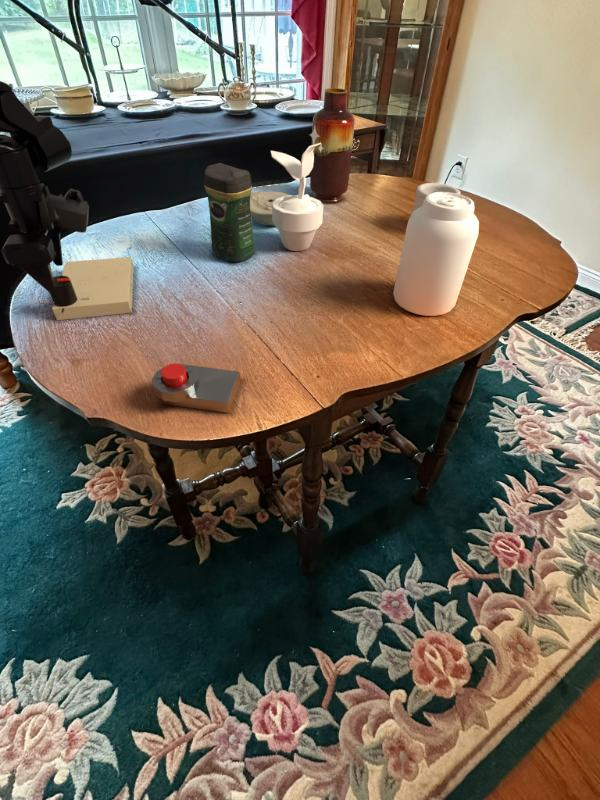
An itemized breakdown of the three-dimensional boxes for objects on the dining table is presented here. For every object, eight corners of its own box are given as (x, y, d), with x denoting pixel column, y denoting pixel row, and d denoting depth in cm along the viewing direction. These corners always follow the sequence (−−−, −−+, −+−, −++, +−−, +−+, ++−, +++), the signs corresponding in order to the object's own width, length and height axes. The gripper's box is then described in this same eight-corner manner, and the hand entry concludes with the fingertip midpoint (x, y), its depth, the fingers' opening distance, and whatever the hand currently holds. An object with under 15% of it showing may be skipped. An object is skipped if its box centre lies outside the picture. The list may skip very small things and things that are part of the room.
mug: (442, 242, 108) (453, 200, 101) (402, 231, 112) (410, 190, 105) (458, 224, 116) (470, 184, 109) (420, 214, 120) (429, 176, 113)
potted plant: (329, 244, 105) (339, 125, 87) (303, 262, 98) (308, 136, 80) (287, 230, 110) (288, 115, 92) (259, 246, 103) (254, 125, 85)
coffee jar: (260, 254, 100) (258, 167, 87) (236, 267, 95) (230, 176, 82) (230, 242, 104) (223, 157, 91) (206, 253, 99) (195, 165, 86)
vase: (305, 202, 124) (310, 92, 106) (313, 189, 132) (318, 84, 113) (343, 206, 122) (354, 96, 104) (349, 193, 130) (360, 88, 112)
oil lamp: (213, 215, 115) (211, 195, 112) (248, 200, 124) (247, 181, 120) (275, 237, 107) (275, 216, 103) (308, 219, 115) (309, 199, 112)
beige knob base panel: (42, 327, 77) (37, 315, 75) (58, 273, 91) (54, 261, 89) (131, 318, 80) (127, 306, 78) (133, 267, 94) (131, 256, 92)
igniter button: (159, 386, 62) (157, 377, 61) (168, 371, 64) (166, 361, 63) (182, 389, 62) (180, 380, 60) (190, 373, 64) (188, 364, 63)
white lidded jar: (446, 324, 82) (481, 218, 68) (384, 306, 86) (404, 202, 72) (460, 294, 90) (493, 194, 76) (402, 279, 94) (424, 181, 80)
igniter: (151, 409, 64) (145, 389, 61) (172, 373, 69) (167, 353, 67) (226, 419, 63) (223, 400, 60) (240, 382, 68) (238, 362, 66)
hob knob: (52, 307, 77) (42, 286, 74) (55, 296, 80) (46, 275, 77) (76, 305, 78) (67, 284, 75) (78, 294, 81) (70, 273, 78)
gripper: (68, 202, 60) (100, 301, 71) (82, 161, 73) (108, 250, 83) (-22, 207, 58) (26, 308, 68) (9, 164, 70) (45, 255, 81)
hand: (56, 277), depth 75 cm, fingers open, 9 cm apart
